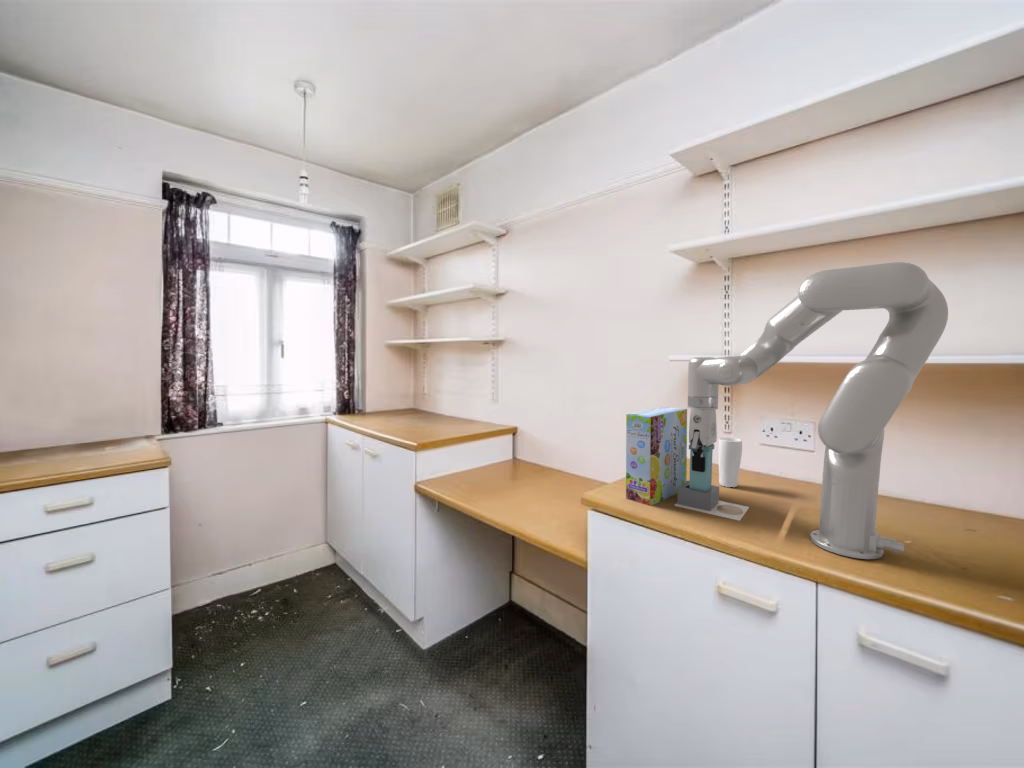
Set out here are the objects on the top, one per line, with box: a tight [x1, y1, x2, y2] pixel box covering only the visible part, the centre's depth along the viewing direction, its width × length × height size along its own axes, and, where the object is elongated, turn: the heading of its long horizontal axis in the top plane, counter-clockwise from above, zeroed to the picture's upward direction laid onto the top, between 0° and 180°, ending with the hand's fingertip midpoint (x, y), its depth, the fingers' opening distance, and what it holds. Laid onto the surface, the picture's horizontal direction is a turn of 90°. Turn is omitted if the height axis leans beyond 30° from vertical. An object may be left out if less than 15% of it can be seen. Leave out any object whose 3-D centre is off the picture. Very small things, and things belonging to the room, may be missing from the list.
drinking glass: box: [717, 436, 743, 488], centre depth 134 cm, size 7×7×15 cm
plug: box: [688, 443, 715, 491], centre depth 115 cm, size 5×5×12 cm
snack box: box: [625, 406, 688, 506], centre depth 123 cm, size 22×9×26 cm, turn 132°
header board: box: [674, 480, 750, 522], centre depth 113 cm, size 16×12×6 cm
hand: (701, 468), depth 115 cm, fingers closed on plug, 4 cm apart
